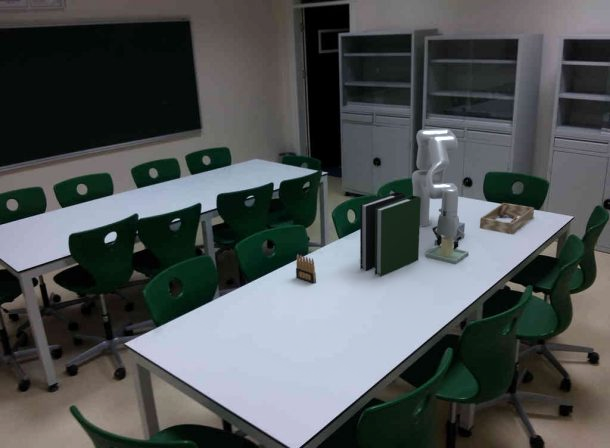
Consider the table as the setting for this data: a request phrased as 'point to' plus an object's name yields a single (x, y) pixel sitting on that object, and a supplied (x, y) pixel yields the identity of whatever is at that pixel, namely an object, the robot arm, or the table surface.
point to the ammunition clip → (305, 269)
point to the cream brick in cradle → (446, 246)
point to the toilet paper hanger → (507, 213)
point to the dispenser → (461, 227)
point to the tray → (452, 258)
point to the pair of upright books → (389, 232)
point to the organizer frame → (506, 227)
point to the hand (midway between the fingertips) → (447, 246)
